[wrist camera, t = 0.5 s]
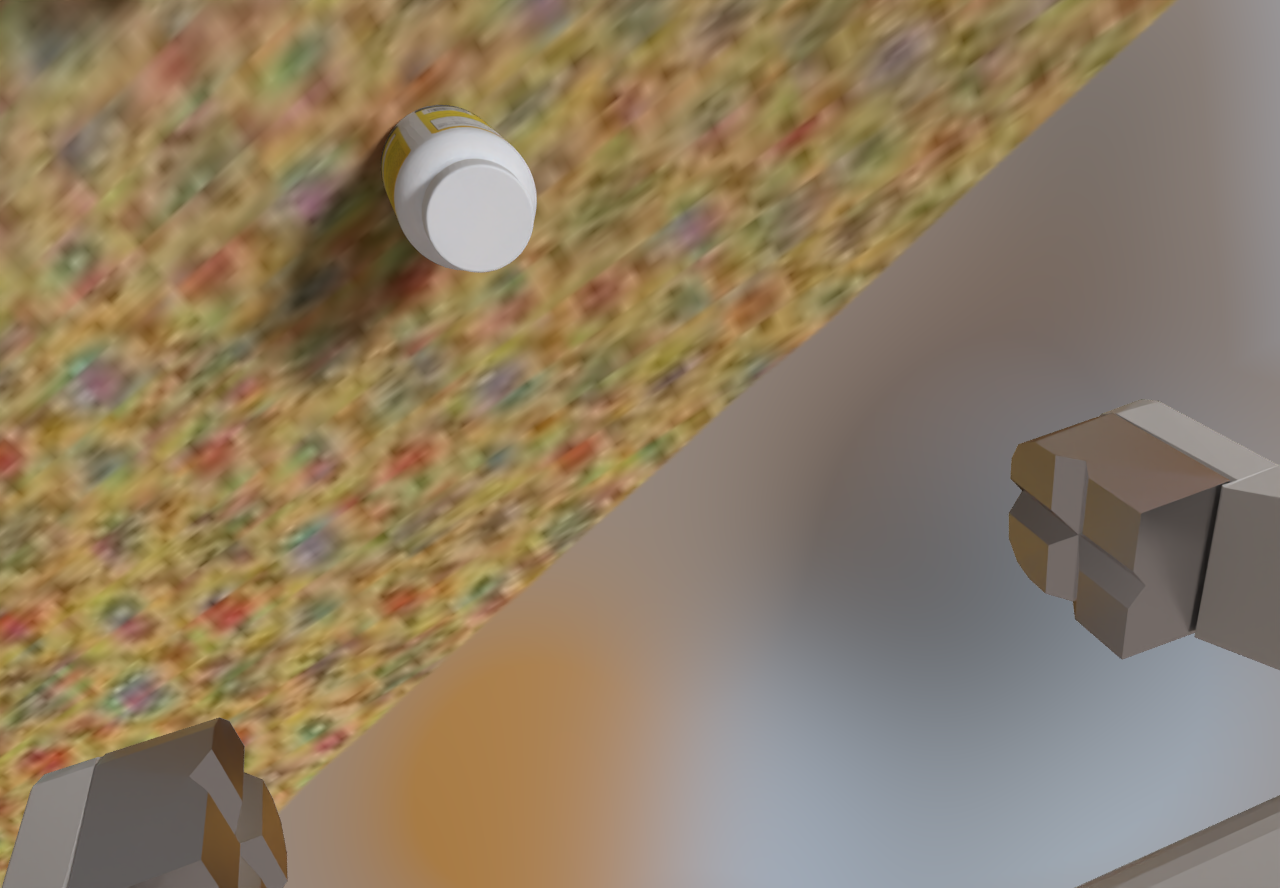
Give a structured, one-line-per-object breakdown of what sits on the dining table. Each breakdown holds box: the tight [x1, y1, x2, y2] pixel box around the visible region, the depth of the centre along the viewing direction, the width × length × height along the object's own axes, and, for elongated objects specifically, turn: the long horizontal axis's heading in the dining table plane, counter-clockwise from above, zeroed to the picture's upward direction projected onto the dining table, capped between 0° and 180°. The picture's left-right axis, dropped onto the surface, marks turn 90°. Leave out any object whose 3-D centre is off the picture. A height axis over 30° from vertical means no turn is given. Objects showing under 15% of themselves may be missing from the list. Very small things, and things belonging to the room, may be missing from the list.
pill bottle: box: [381, 105, 537, 272], centre depth 46 cm, size 6×6×12 cm
